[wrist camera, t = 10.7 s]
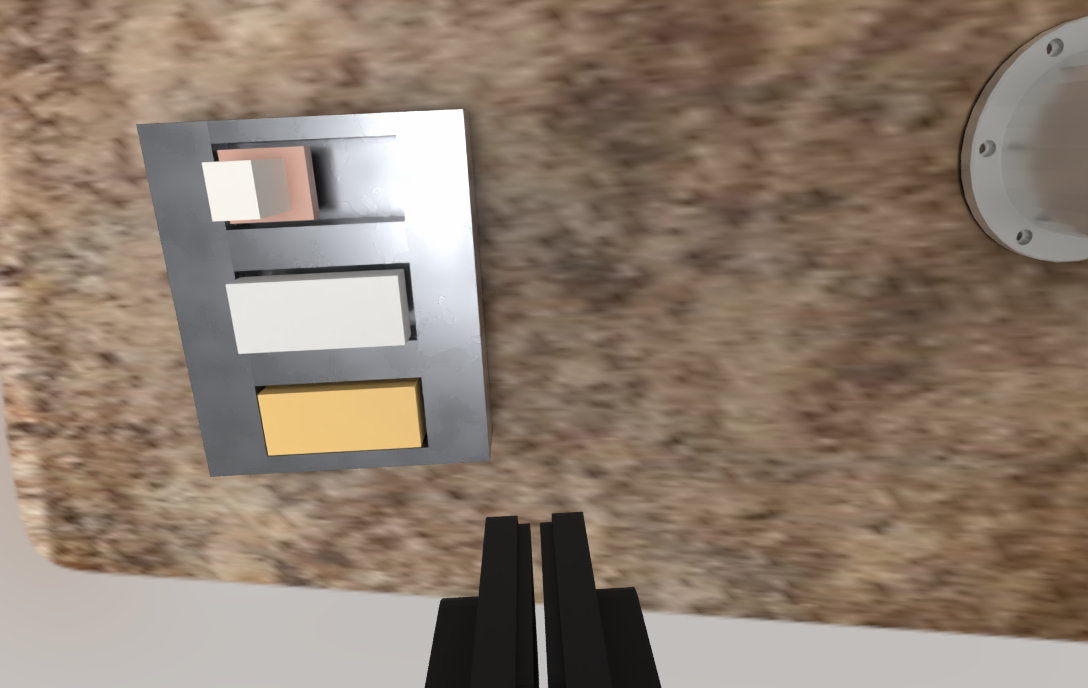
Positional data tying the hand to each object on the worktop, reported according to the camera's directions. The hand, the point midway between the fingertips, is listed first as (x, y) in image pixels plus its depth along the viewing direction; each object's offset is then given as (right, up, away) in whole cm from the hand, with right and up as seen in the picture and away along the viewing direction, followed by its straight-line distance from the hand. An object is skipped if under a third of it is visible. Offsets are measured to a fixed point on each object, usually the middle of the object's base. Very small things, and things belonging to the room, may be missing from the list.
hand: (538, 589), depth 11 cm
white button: (-11, +6, +22) cm, 25 cm away
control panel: (-11, +7, +26) cm, 29 cm away
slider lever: (-13, +12, +21) cm, 28 cm away
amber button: (-10, +1, +25) cm, 27 cm away
